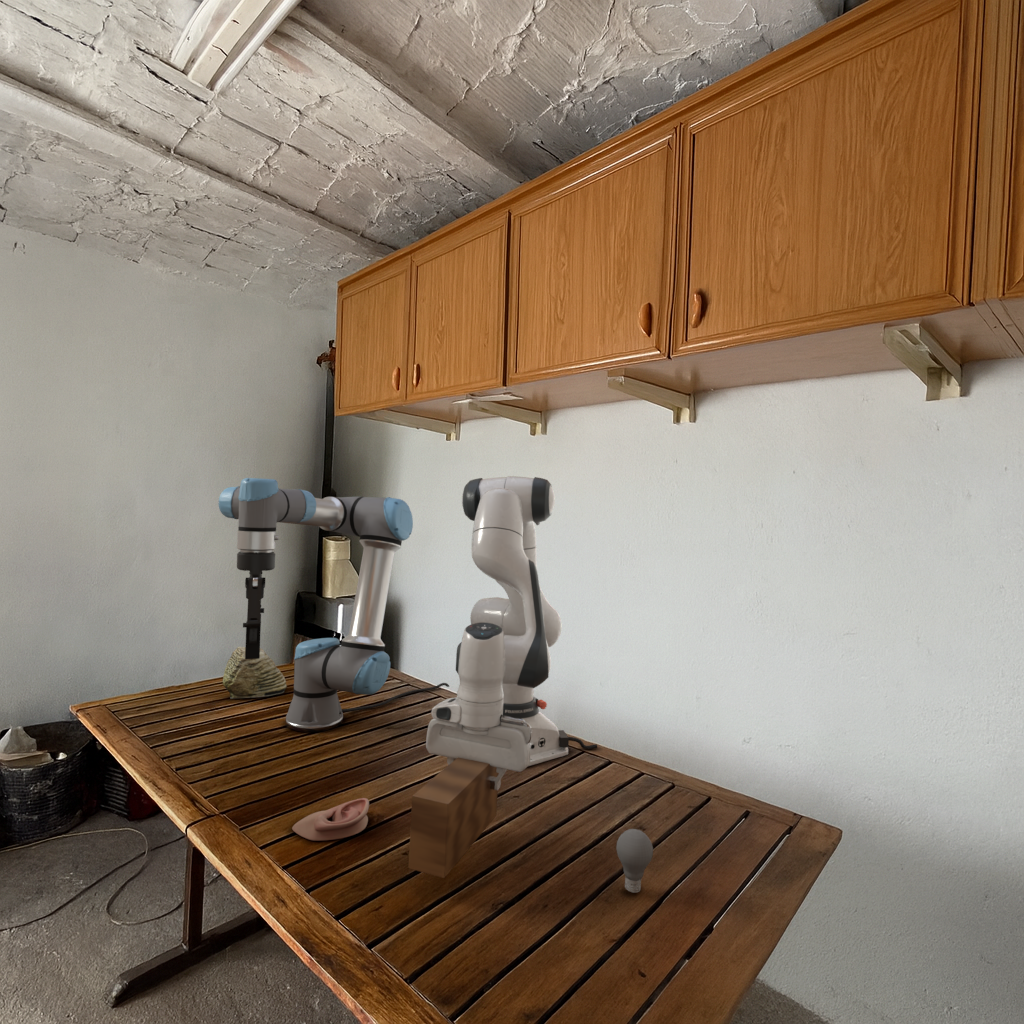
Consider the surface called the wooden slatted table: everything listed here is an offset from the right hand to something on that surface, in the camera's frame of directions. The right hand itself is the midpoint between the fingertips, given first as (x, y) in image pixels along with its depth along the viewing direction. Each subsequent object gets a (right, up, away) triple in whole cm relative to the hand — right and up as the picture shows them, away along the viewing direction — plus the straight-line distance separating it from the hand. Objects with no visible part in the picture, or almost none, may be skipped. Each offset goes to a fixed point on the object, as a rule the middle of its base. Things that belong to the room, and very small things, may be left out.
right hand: (475, 784), depth 119 cm
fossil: (-74, -6, +79) cm, 108 cm away
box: (-3, -7, -7) cm, 10 cm away
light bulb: (+27, -12, -14) cm, 33 cm away
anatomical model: (-28, -9, +3) cm, 30 cm away
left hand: (-48, +22, +15) cm, 55 cm away
